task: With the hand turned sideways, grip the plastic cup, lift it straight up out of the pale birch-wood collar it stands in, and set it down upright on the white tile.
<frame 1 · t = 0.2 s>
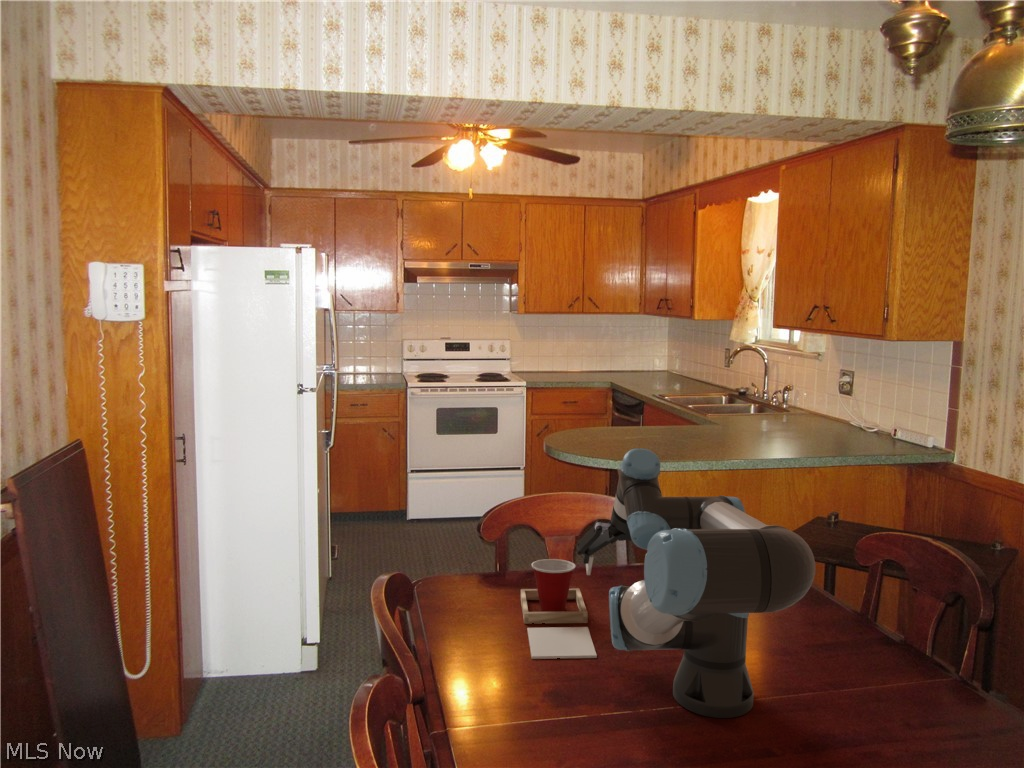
hand: (617, 570, 177), 15 cm above the table, tool tilted 35°, fingers open, 13 cm apart
white tile: (560, 643, 174), on the table
birch collar: (552, 610, 192), on the table
plastic cup: (552, 611, 192), resting in birch collar
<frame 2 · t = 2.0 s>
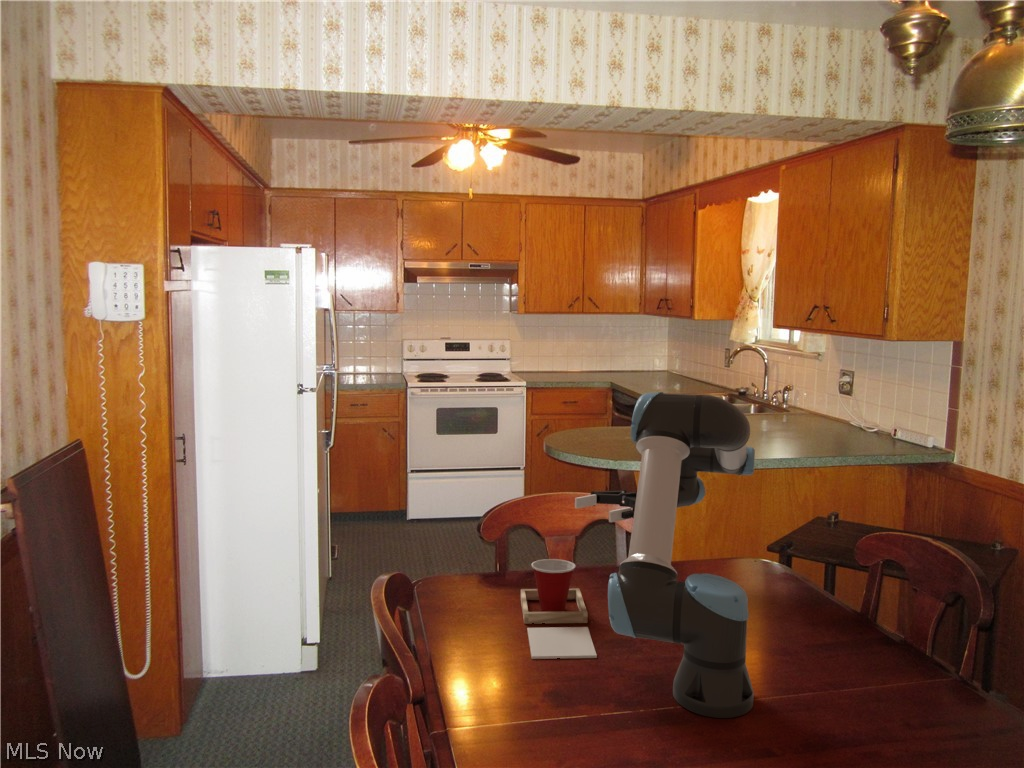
hand: (592, 509, 195), 24 cm above the table, tool horizontal, fingers open, 13 cm apart
nothing on the table moved.
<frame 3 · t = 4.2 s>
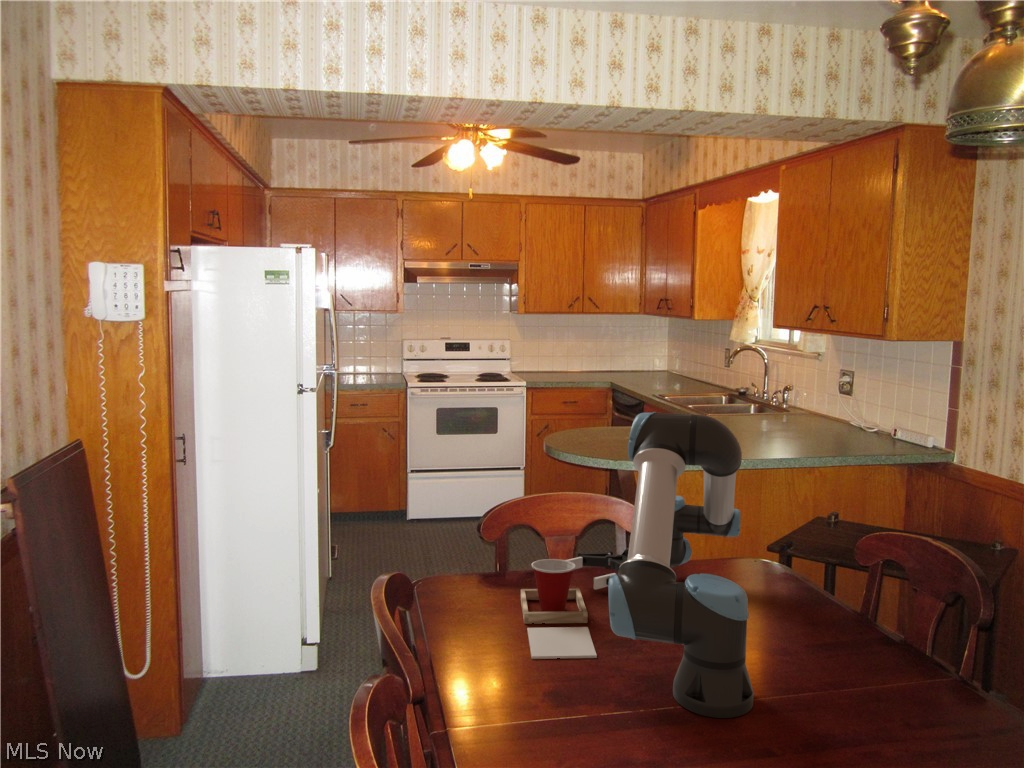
hand: (577, 574, 195), 7 cm above the table, tool horizontal, fingers open, 13 cm apart
nothing on the table moved.
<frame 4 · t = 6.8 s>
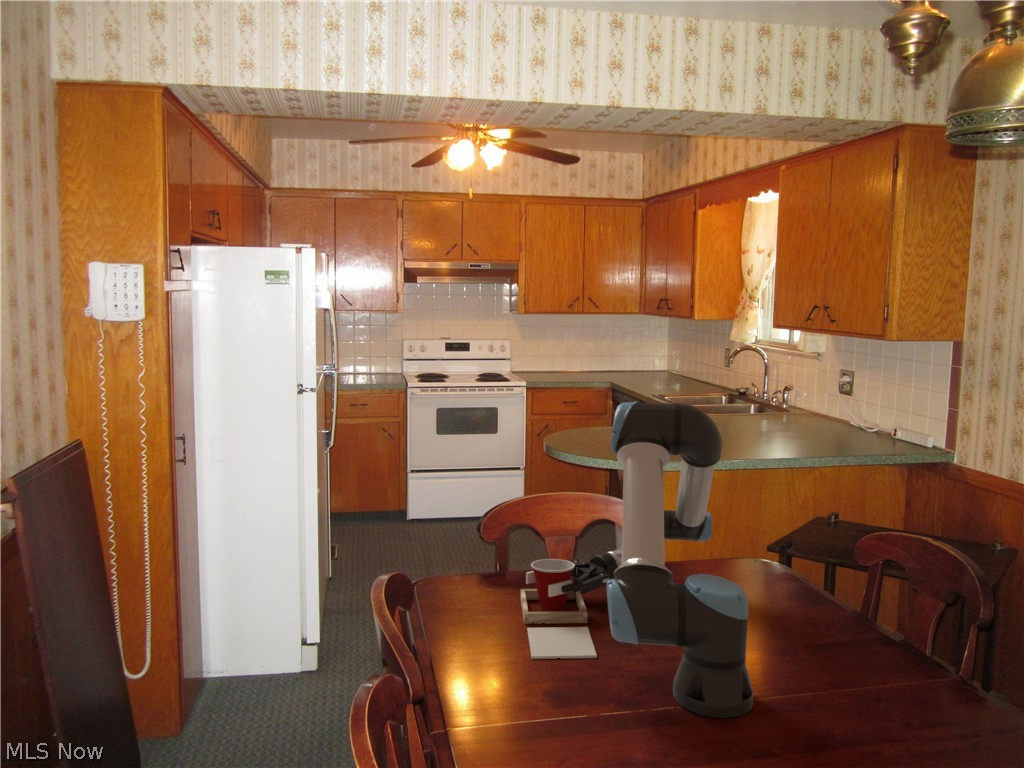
hand: (537, 584, 188), 8 cm above the table, tool horizontal, fingers closed on plastic cup, 9 cm apart
plastic cup: (552, 610, 192), resting in birch collar, touching gripper
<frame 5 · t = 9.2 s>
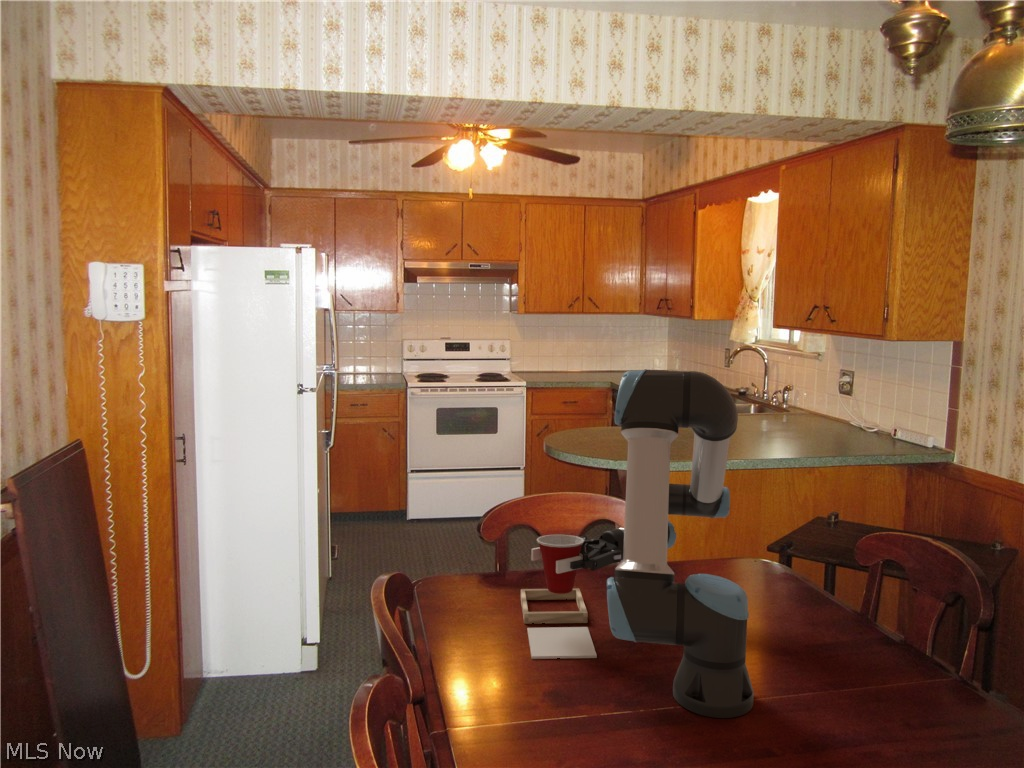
hand: (544, 561, 175), 18 cm above the table, tool horizontal, fingers closed on plastic cup, 9 cm apart
plastic cup: (560, 589, 179), point 10 cm above the table, touching gripper
when the fingers open (10 cm above the table, at t = 12.1 s): plastic cup drops 1 cm, point 1 cm above the table.
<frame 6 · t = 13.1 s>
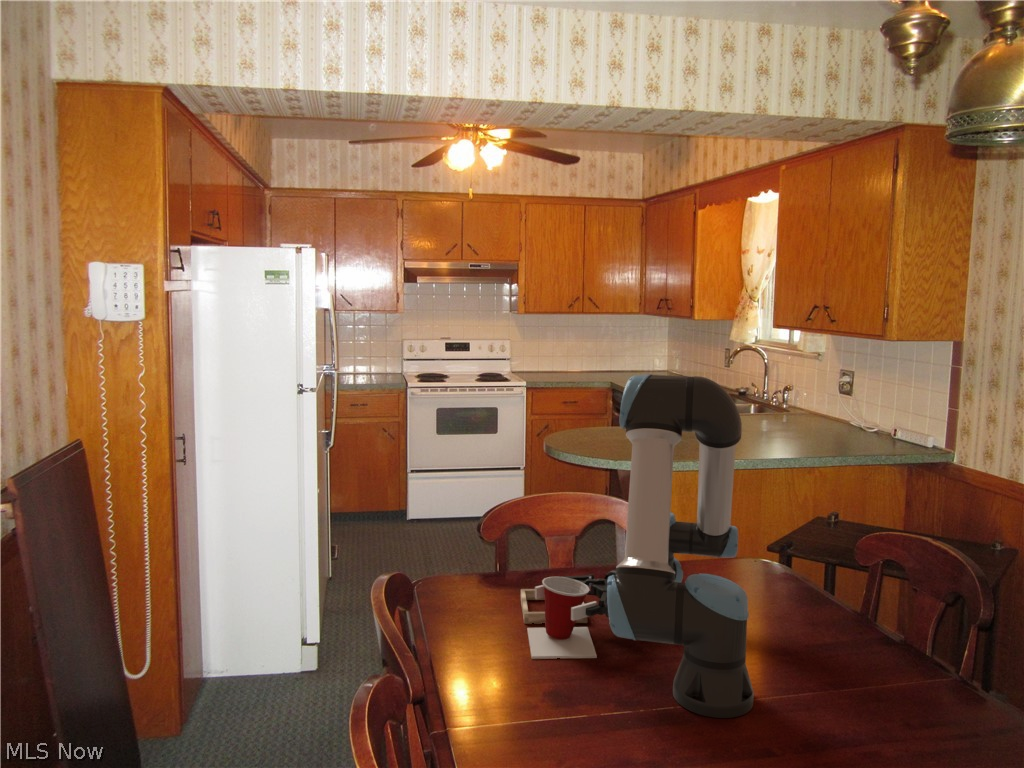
hand: (553, 603, 172), 10 cm above the table, tool horizontal, fingers open, 13 cm apart
plastic cup: (558, 633, 177), point 1 cm above the table, touching gripper
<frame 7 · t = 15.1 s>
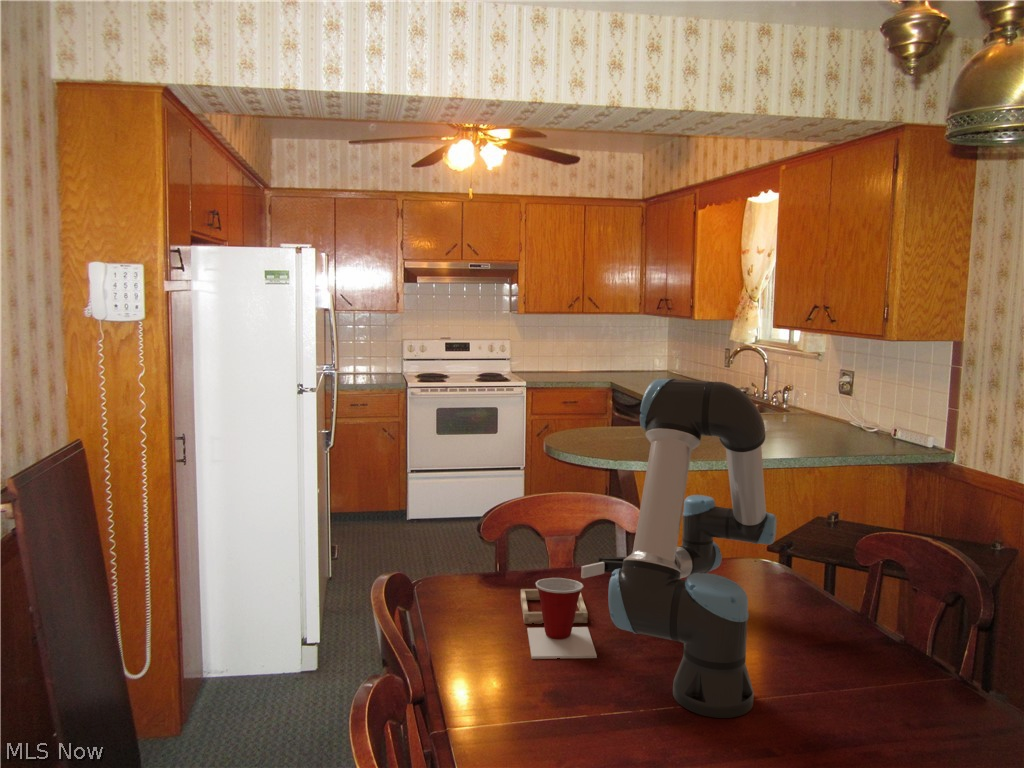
hand: (600, 581, 178), 12 cm above the table, tool horizontal, fingers open, 13 cm apart
plastic cup: (558, 634, 177), resting on white tile
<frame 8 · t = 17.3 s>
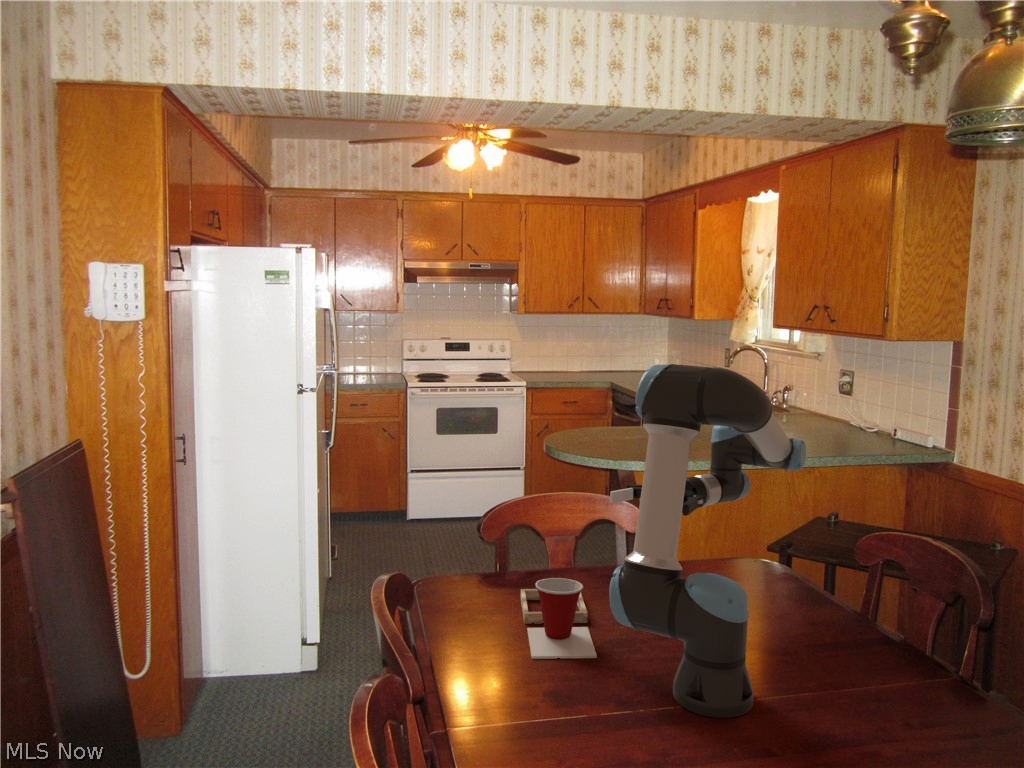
hand: (630, 504, 177), 30 cm above the table, tool horizontal, fingers open, 13 cm apart
nothing on the table moved.
at the end: plastic cup inside the target area on the white tile (3.5 cm from its centre), point 0.4 cm above the white tile's base; plastic cup tilted 0°; plastic cup touching white tile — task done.
